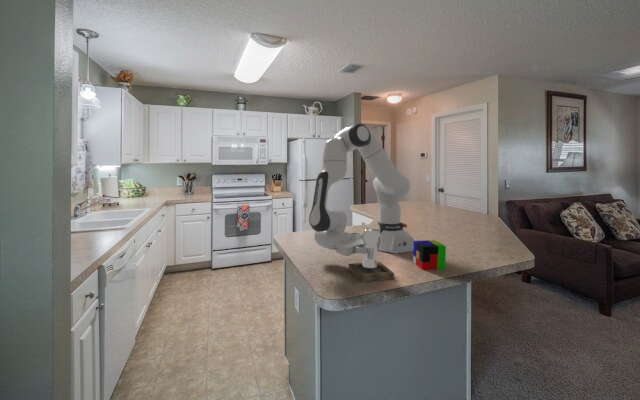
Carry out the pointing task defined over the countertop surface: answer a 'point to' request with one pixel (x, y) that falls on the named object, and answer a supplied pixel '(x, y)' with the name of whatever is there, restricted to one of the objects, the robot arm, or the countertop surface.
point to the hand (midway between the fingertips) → (372, 249)
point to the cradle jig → (371, 272)
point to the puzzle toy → (429, 254)
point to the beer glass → (370, 247)
